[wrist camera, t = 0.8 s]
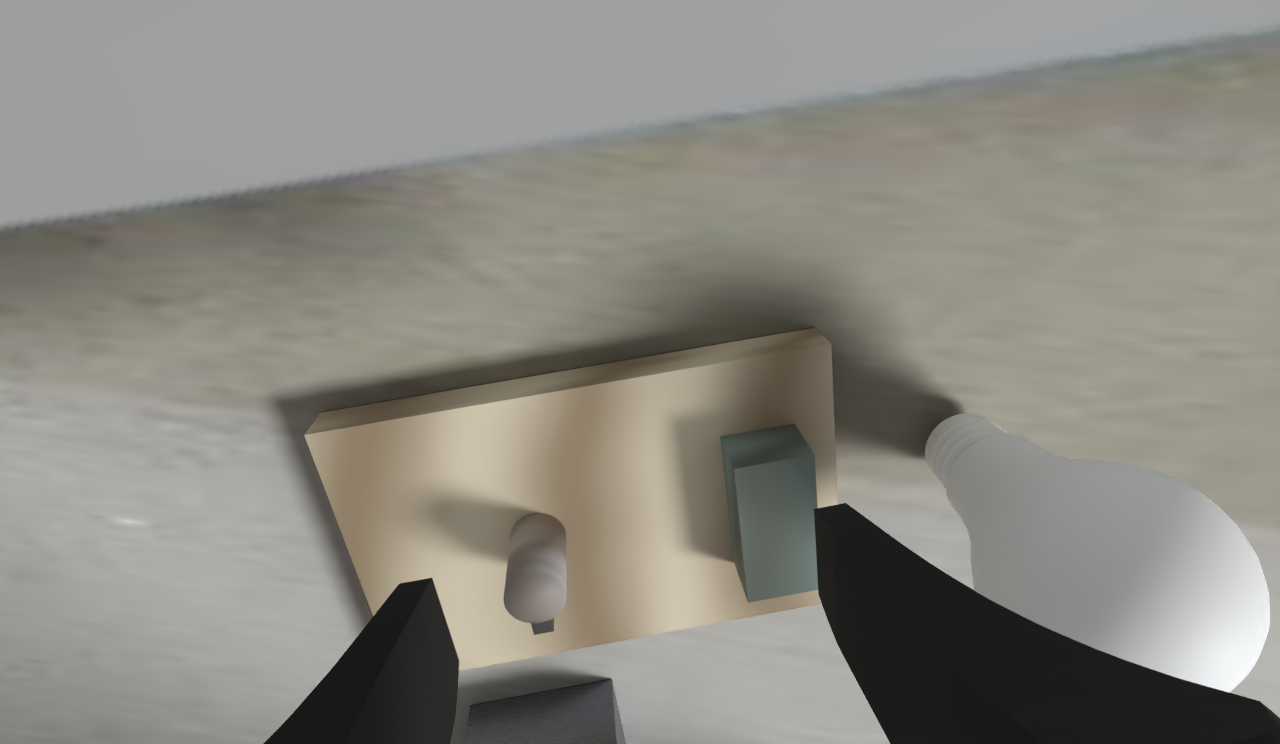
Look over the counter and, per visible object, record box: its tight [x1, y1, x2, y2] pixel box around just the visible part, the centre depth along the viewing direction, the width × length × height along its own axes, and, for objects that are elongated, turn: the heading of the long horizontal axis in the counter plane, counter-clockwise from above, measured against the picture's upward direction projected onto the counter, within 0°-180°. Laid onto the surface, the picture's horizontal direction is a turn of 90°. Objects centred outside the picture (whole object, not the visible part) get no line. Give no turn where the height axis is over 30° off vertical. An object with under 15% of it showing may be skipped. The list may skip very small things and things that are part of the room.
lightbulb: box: [925, 413, 1270, 693], centre depth 20 cm, size 6×6×11 cm
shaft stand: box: [304, 328, 838, 671], centre depth 23 cm, size 16×10×4 cm, turn 98°
